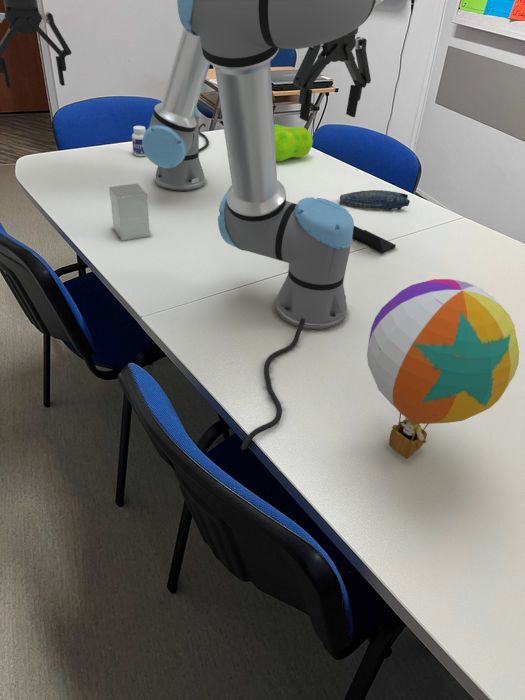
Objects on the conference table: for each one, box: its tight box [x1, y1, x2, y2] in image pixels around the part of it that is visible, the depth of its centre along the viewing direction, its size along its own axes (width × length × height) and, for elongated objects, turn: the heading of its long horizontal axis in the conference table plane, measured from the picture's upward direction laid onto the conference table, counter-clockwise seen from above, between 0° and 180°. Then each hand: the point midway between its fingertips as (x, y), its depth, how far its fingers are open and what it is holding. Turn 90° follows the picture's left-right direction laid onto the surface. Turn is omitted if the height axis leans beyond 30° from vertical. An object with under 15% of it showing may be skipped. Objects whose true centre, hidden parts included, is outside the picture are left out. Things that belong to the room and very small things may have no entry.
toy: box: [366, 278, 520, 459], centre depth 74 cm, size 20×20×30 cm
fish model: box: [339, 189, 411, 211], centre depth 158 cm, size 7×21×5 cm, turn 84°
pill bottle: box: [131, 125, 147, 157], centre depth 178 cm, size 5×5×9 cm
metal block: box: [108, 183, 151, 242], centre depth 131 cm, size 7×7×11 cm
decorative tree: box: [274, 123, 314, 163], centre depth 185 cm, size 18×10×30 cm
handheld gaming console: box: [352, 225, 397, 255], centre depth 137 cm, size 12×7×10 cm
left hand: (35, 85), depth 138 cm, fingers open, 13 cm apart
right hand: (327, 117), depth 123 cm, fingers open, 13 cm apart
